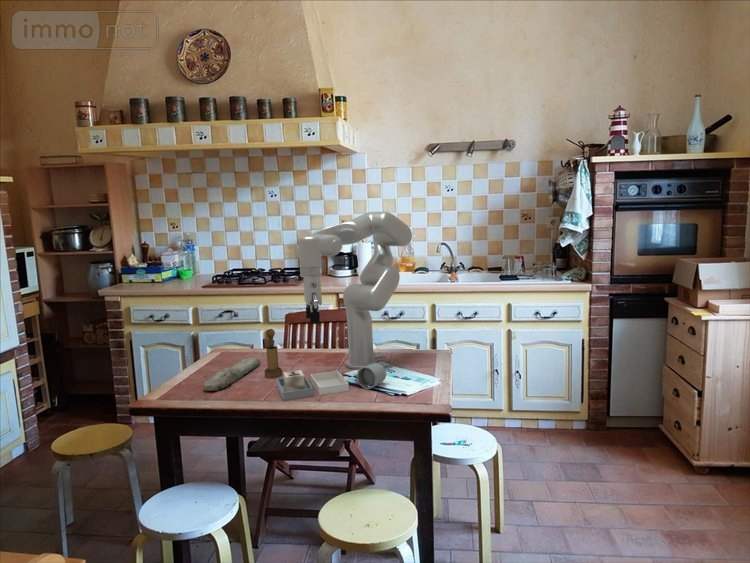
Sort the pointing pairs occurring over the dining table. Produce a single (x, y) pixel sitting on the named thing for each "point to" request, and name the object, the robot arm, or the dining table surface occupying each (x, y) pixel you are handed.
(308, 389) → the tray
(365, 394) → the dining table surface
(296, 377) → the letter cube
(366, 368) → the ceramic mug
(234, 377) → the long grey stone
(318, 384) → the tray
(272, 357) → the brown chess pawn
